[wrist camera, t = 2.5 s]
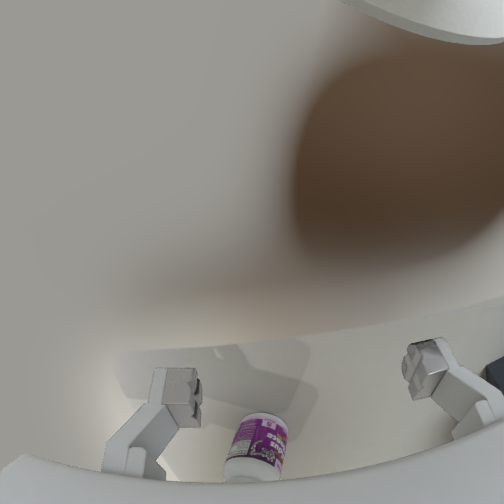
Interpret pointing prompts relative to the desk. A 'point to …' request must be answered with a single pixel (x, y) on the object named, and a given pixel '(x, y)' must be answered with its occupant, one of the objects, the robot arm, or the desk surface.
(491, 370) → the bin
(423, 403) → the desk surface
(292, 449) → the desk surface
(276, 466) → the pill bottle
